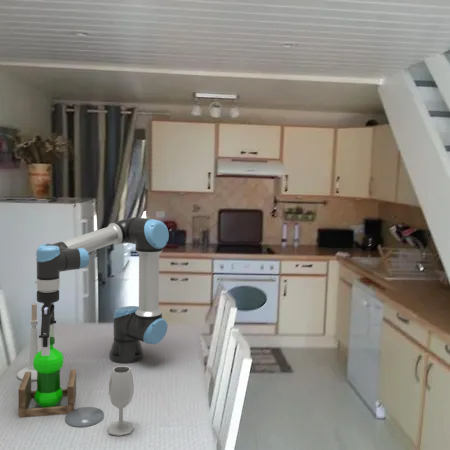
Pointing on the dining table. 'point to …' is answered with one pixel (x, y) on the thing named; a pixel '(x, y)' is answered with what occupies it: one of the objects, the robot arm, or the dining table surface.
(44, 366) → the plastic bottle
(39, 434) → the dining table surface
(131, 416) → the dining table surface
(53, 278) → the robot arm
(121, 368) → the wineglass
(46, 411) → the walnut cradle
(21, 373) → the candlestick
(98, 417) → the slate coaster
